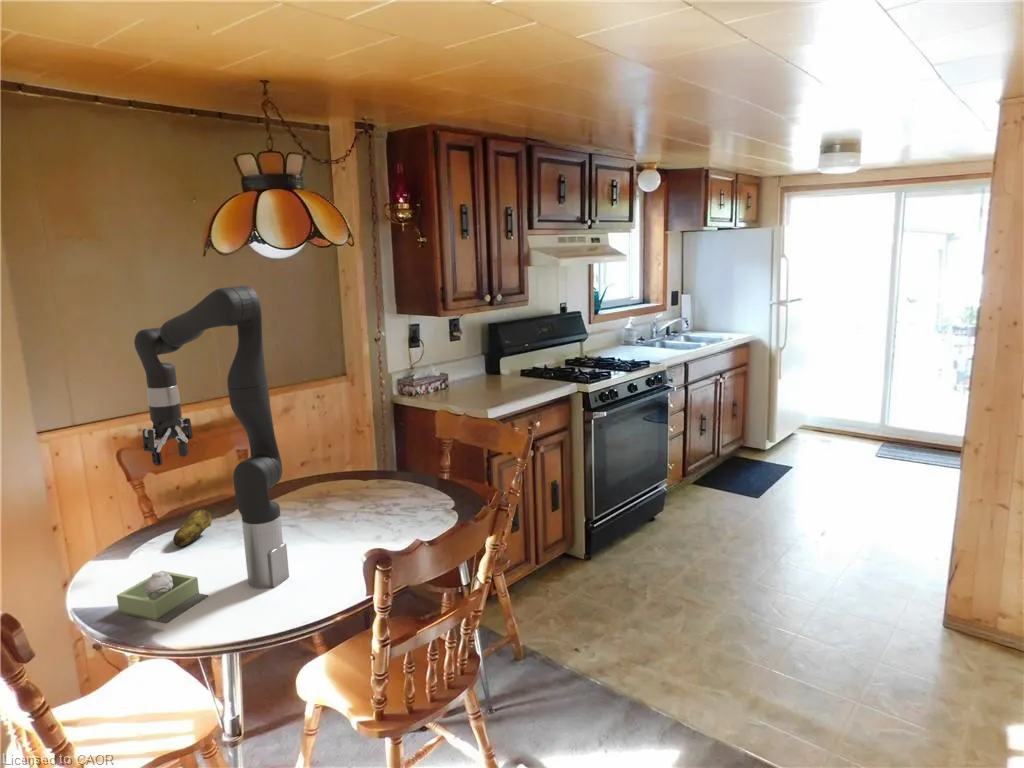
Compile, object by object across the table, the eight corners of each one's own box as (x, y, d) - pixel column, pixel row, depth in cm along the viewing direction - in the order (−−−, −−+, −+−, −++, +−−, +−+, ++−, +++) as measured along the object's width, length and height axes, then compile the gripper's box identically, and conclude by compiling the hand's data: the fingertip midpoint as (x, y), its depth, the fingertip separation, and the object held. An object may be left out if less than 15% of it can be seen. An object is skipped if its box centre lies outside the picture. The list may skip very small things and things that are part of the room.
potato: (164, 544, 198) (161, 518, 197) (205, 529, 208) (203, 504, 207) (179, 551, 193) (176, 525, 192) (221, 535, 204) (218, 510, 202)
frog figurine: (179, 593, 168) (176, 567, 167) (167, 607, 161) (163, 580, 160) (154, 594, 168) (151, 567, 167) (141, 608, 161) (137, 581, 160)
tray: (208, 596, 168) (206, 579, 167) (166, 623, 156) (164, 605, 155) (163, 587, 172) (161, 570, 172) (119, 613, 160) (116, 595, 160)
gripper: (153, 409, 173) (160, 469, 177) (195, 397, 186) (202, 454, 190) (131, 407, 176) (138, 467, 179) (174, 396, 189) (181, 452, 192)
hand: (171, 460), depth 184 cm, fingers open, 8 cm apart
